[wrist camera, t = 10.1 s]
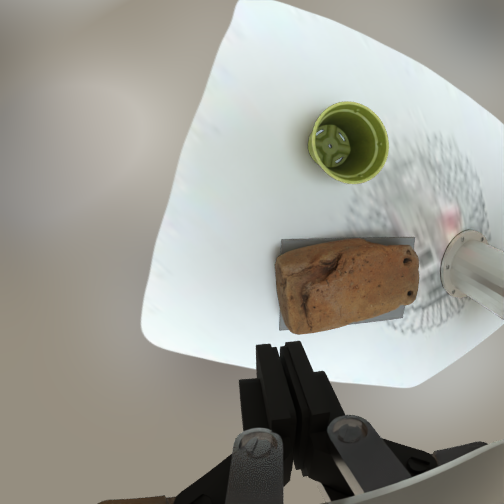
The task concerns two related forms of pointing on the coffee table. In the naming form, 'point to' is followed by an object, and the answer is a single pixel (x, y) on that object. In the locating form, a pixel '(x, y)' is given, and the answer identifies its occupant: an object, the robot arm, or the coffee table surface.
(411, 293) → the block
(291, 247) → the mat
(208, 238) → the coffee table surface
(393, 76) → the coffee table surface
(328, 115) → the plant pot
